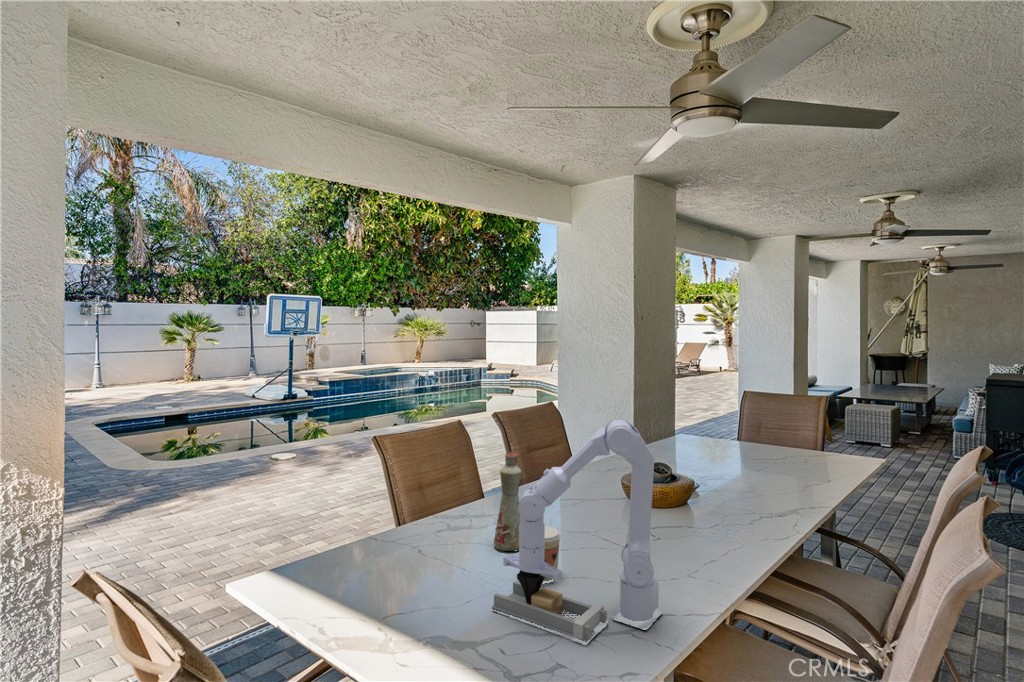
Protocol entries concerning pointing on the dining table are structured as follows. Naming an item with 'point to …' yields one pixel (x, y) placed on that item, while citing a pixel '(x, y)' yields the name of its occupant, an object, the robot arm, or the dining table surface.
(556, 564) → the coffee cup
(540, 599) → the keeper
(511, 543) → the bottle
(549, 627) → the channel
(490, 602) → the dining table surface
